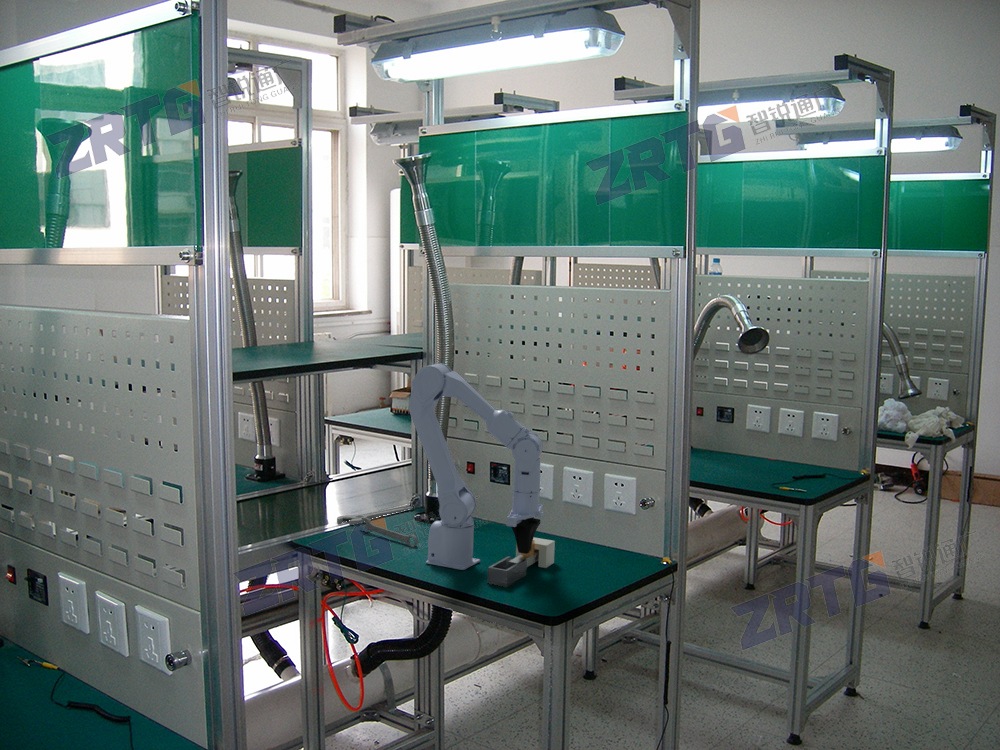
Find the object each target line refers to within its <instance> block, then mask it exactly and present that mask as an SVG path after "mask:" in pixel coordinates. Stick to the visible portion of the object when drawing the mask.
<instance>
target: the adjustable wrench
mask: <svg viewBox="0 0 1000 750" xmlns="http://www.w3.org/2000/svg"><path fill="white" fill-rule="evenodd" d="M410 505H411V504H407V505H402V506H396V507H392V508H386V509H383V510H377V511H373V512H372V511H371V512H367V513H361V514H348V515H346V514H345V515H340V516H338V517H337V518H336V524H338V525H340V524H343V523H347V522H346V521H349V520H350V521H349V522H348V526H350V525H353V524H357V523H361V522H364V521H363V520H362V519H361V518H369V519H371V520H373V519H372V518H376V517H379V516H383V515H387V514H392V513H396V512H401V511H404V510H408V509H411V508H413V507H410ZM376 519H377V518H376ZM342 522H343V523H342Z"/></svg>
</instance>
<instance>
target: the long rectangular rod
mask: <svg viewBox="0 0 1000 750" xmlns="http://www.w3.org/2000/svg"><path fill="white" fill-rule="evenodd" d="M534 546H535V540H533V541H532V545H531V548H530V551H529V553H527V554H524V553H521V555H519V556H517V557H516V556H515V557H514V558H511V560H510V561H508V568H510V567H511V566H513V565H515V564H517V563H518V562H520V561H522V560H524V559H527V568H528V567H530V566H531V565H533V564H535V563H537V562H538V560H539V550H538V549H534Z"/></svg>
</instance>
